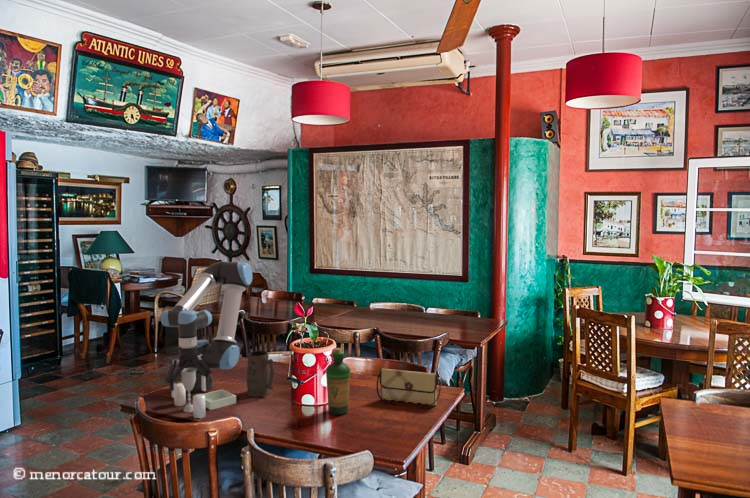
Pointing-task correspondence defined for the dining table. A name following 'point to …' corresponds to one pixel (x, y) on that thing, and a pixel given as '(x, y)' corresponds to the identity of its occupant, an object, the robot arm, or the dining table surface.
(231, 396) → the tray
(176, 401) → the white upright cylinder
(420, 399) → the clutch purse
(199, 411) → the pillar candle
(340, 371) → the bottle
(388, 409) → the dining table surface
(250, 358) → the beer stein
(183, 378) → the chalice
